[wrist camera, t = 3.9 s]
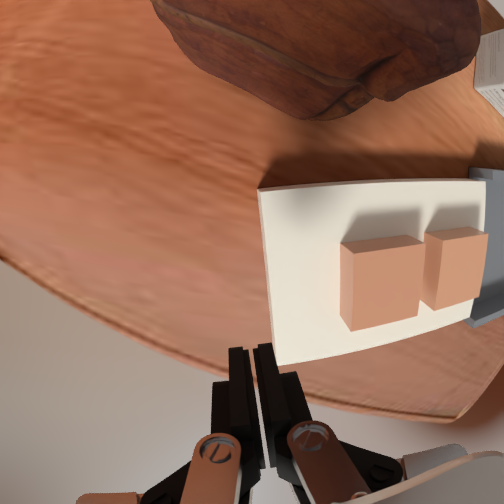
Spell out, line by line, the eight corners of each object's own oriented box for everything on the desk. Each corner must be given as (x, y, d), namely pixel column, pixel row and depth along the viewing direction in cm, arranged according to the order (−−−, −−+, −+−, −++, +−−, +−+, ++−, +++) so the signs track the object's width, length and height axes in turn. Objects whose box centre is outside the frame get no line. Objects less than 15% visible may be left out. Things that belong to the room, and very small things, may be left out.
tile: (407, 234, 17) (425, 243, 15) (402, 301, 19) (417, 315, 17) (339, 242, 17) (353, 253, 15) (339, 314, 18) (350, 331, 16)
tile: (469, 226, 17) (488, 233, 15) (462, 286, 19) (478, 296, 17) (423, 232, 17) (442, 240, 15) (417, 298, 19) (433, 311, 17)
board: (466, 178, 19) (485, 181, 16) (455, 305, 22) (469, 317, 20) (256, 188, 18) (260, 192, 16) (272, 346, 22) (276, 365, 19)
